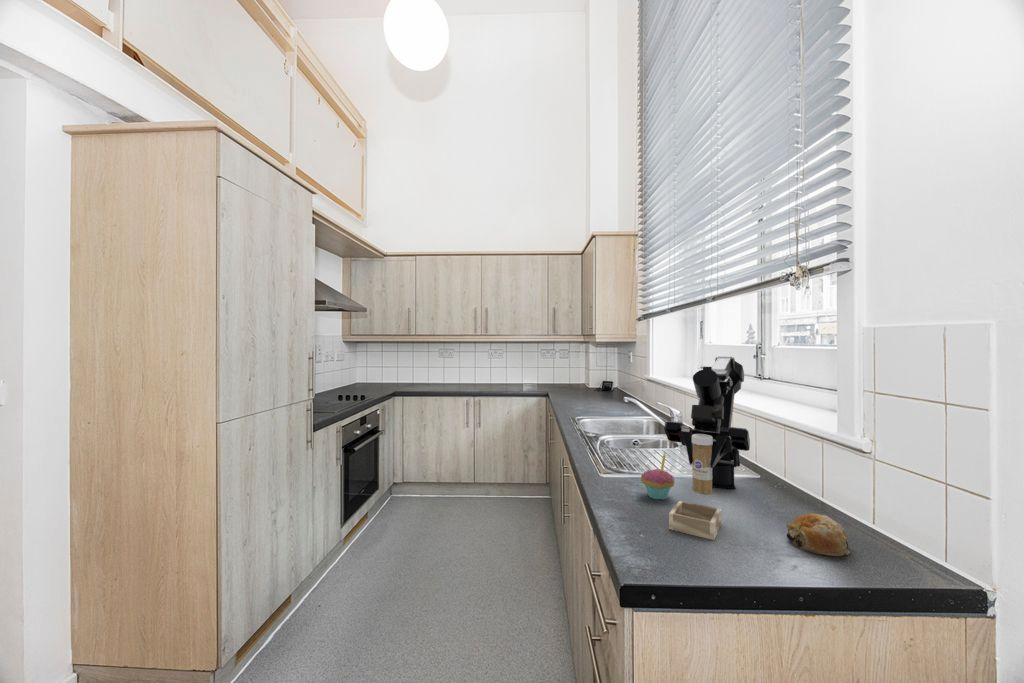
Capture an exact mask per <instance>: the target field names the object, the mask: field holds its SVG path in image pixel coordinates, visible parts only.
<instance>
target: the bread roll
mask: <svg viewBox="0 0 1024 683" xmlns="http://www.w3.org/2000/svg"><path fill="white" fill-rule="evenodd" d="M786 527H787V534H786V538H787V539H788V540H789V541H790V542H792V544H793V545H794V546H795V547H797V548H800V549H802V550H804V551H807V552H810V553H813V554H815V555H816V554H817V555H819V556H821V555H823V556H828V557H829V556H830V557H842V556H849V555H850V554H851V551H850V550H849V549H848V548H849V540H848V536H847V533H846V530H845V529H844V527H843V526H842V525H841V524H840V523H838V522H837V521H836V520H834V519H832V518H831V517H829V516H828V515H825V514H820V513H807V514H801V515H800V516H797V517H796V518H794V519H793V520H792V521H791V522H790V523H787V525H786Z"/></svg>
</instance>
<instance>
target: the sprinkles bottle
mask: <svg viewBox="0 0 1024 683" xmlns="http://www.w3.org/2000/svg"><path fill="white" fill-rule="evenodd" d="M692 444H693V458H692V459H693V462H692V465H691V466H692V467H691V475H692V487H691V489H692V492H694V493H697V494H699V495H711V494H712V493H713V492H714V491H713V487H712V468H711V459H712V444H713V437H712V436H710V435H707V434H693V435H692Z"/></svg>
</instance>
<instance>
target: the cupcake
mask: <svg viewBox="0 0 1024 683" xmlns="http://www.w3.org/2000/svg"><path fill="white" fill-rule="evenodd" d="M661 459H662V460H661V466H660V468H654V469H650V470H649V469H648V470H646V471H644V472H643V473H642V474H641V476H640V482H641V483H642V484H643V485H644V486H645V489H646V492H647V495H648V497H649V498H651V499H655V500H659V499H662V500H666V499H668V495H669V494H670V490H671V488H672V487H675V478H674V475H672V474H671V473H670V472H668V471H666V470H664V468H665V461H666V451H664V454H662V457H661Z"/></svg>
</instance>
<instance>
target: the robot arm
mask: <svg viewBox="0 0 1024 683" xmlns="http://www.w3.org/2000/svg"><path fill="white" fill-rule="evenodd" d="M714 360H715V361H714V363H713V365H712V366H703V367H702V369H700V370H698V371H697V372H695V373H694V374H693V376H692V382H693V384H694V389H695V393H696V396H697V398H698V403H697V404H692V405H691V411H690V412H691V414H690V419H692V421H691V424H692V425H691V426H693V428H692V427H691V426H686V425H685V426H684V424H683V422H682V421H674V420H673V421H672V420H668V421H666V422H665V424H664V427H663V430H664V432H665V435H666V438H667V440H668V441H670V442H672V443H680V444H681V445H682V446H683V447H686V452H687V458H688V463H689V465H690V466H692V463H693V459H692V458H693V444H692V435H693V434H707V435H710V436H712V437H713V444H712V459H711V468H712V488H721V489H731V490H736V489H737V486H736V485H735V468H738V467H741V456H740V451H745V452H746V451H750V450H751V449H750V447H751V439H750V433H749V430H748V429H747V428H743V427H736V426H735V427H732V421H733V411H734V403H735V394H736V393H738V392H739V391H740V390H741V388H742V383H743V382H745V370H744V367H743V365H742V364H741V363H739V362H738V361H736V360H735V357H733V356H727V355H726V356H725V355H724V356H717V357H716V356H715V359H714Z"/></svg>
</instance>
